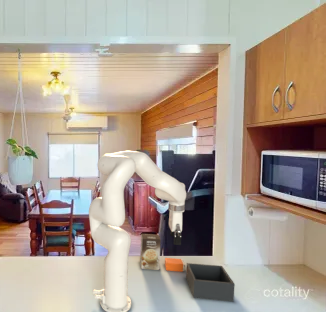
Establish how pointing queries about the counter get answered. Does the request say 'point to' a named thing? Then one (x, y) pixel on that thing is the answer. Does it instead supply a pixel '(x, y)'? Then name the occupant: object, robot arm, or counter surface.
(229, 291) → the trash bin
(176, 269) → the block
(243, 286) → the counter surface
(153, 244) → the coffee box
